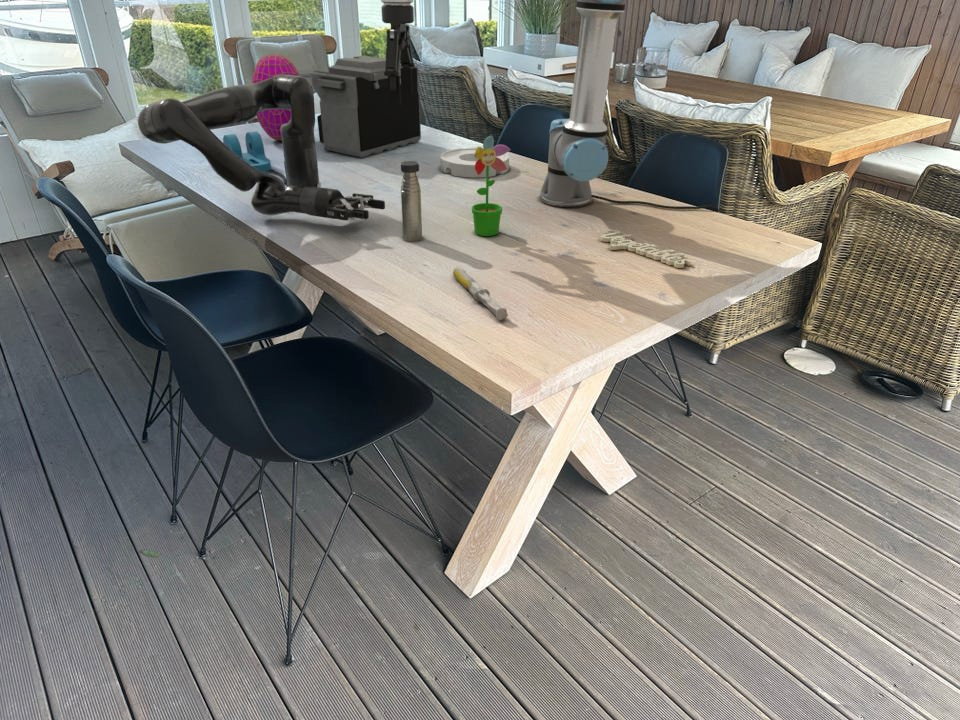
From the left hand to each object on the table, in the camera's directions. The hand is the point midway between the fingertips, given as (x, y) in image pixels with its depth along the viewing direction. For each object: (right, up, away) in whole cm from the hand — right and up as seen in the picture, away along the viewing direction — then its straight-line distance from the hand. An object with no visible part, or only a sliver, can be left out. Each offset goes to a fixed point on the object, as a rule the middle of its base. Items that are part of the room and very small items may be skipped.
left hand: (376, 209), depth 174 cm
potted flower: (+28, -5, +4) cm, 29 cm away
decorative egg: (-49, +47, +90) cm, 113 cm away
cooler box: (-15, +42, +84) cm, 95 cm away
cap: (+9, +9, -9) cm, 16 cm away
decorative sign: (+66, -11, -6) cm, 67 cm away
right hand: (+7, +27, -3) cm, 28 cm away
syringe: (+26, -25, -29) cm, 47 cm away
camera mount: (-50, +26, +55) cm, 79 cm away
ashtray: (+25, +27, +58) cm, 69 cm away
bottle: (+9, -7, 0) cm, 12 cm away
